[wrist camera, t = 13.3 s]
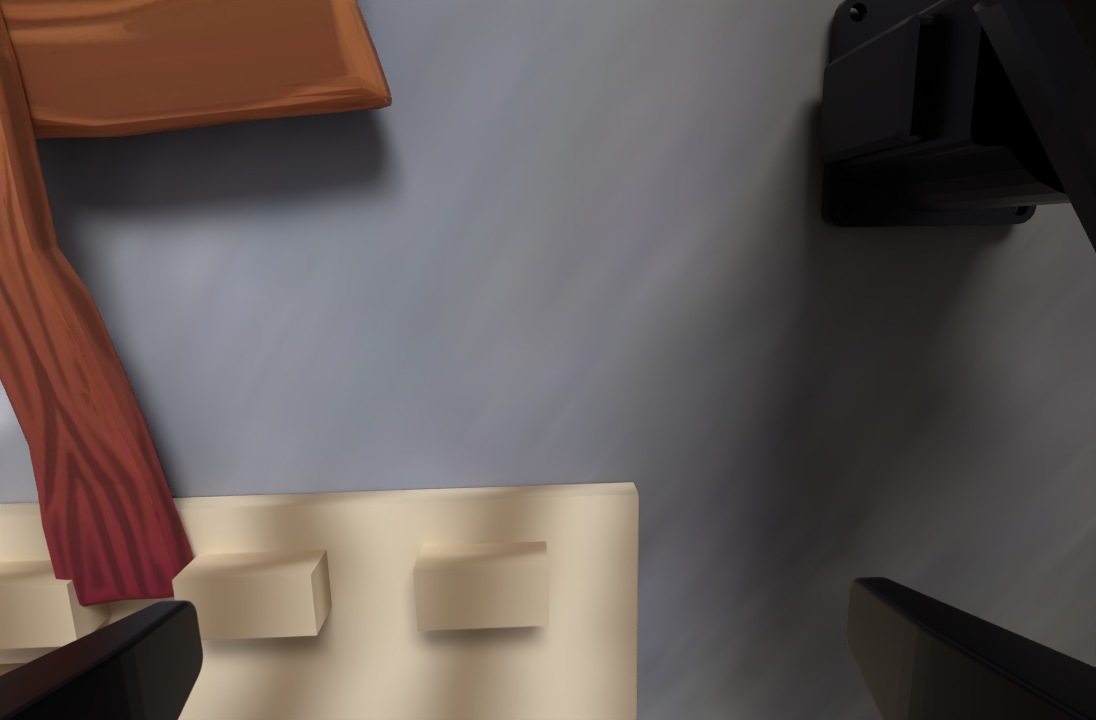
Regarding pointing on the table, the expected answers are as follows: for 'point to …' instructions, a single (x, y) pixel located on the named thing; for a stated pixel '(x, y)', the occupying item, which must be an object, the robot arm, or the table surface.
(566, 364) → the table surface
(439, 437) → the table surface
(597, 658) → the birch notch board
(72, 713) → the robot arm
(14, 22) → the sign
